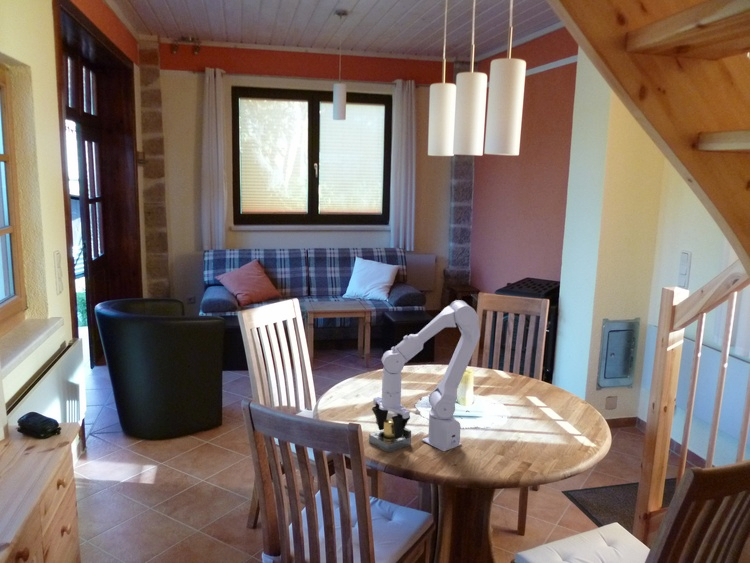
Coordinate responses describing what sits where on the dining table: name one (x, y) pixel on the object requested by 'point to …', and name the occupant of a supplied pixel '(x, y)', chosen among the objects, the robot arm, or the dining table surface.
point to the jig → (390, 440)
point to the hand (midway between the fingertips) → (390, 433)
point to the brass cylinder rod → (389, 429)
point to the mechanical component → (390, 415)
